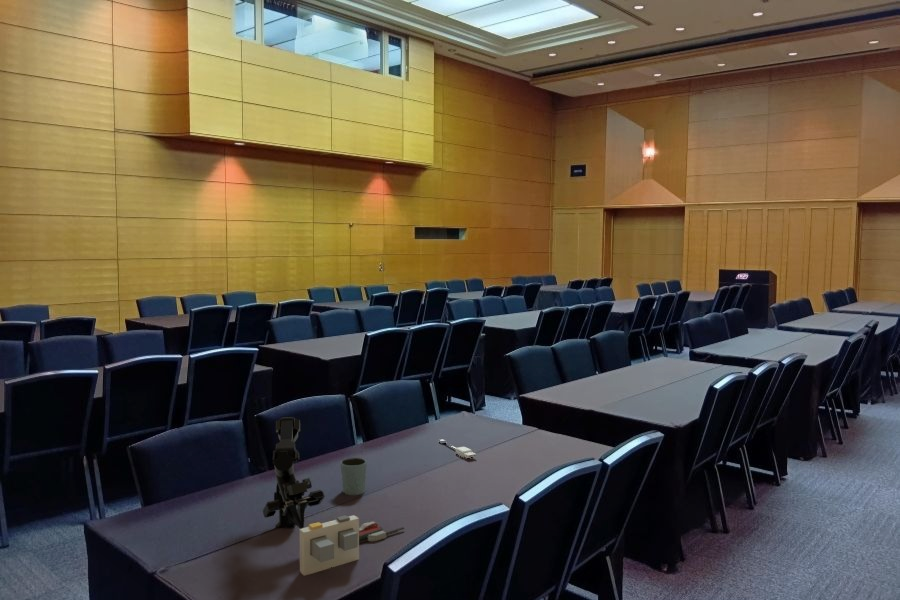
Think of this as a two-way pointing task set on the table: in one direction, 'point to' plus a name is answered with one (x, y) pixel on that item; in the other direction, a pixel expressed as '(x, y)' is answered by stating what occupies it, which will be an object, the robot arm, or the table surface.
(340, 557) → the console
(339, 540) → the button dark
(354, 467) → the grey green cup
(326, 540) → the grey rectangular block
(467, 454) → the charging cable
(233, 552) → the table surface
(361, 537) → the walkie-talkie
